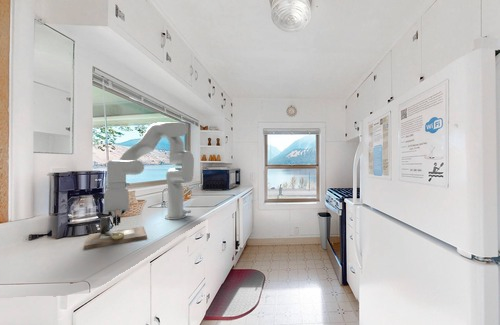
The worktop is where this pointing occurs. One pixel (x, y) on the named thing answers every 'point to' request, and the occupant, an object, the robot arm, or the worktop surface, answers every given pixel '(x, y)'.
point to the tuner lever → (106, 229)
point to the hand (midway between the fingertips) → (116, 224)
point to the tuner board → (105, 240)
